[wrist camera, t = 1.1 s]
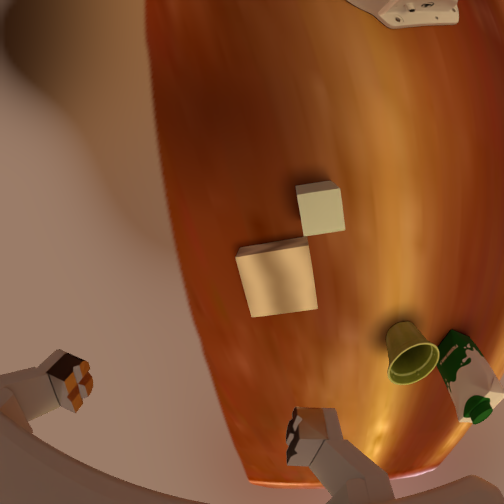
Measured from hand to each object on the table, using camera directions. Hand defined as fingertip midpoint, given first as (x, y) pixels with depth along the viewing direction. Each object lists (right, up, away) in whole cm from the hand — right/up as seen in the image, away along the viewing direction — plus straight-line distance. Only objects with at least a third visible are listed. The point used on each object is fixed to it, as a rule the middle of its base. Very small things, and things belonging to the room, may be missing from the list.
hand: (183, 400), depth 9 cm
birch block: (+7, +2, +34) cm, 34 cm away
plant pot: (+29, -9, +35) cm, 47 cm away
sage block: (+11, +13, +29) cm, 33 cm away
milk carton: (+43, -14, +35) cm, 57 cm away
